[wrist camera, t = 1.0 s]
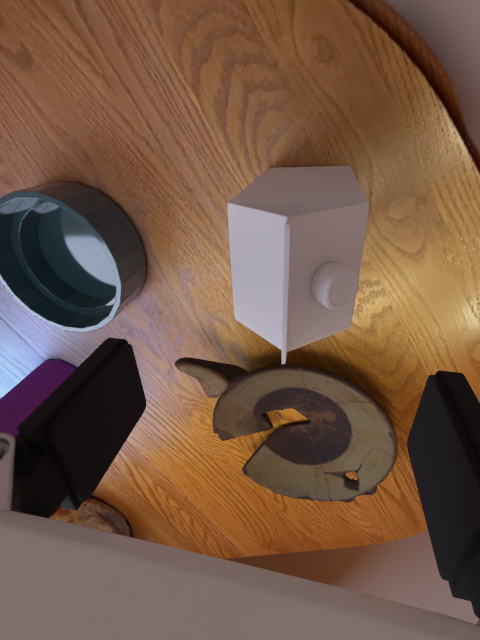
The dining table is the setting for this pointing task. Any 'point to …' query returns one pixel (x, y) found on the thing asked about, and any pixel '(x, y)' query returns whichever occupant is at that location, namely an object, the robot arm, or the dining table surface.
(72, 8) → the dining table surface
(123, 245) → the shallow pet bowl
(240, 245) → the milk carton
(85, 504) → the bread
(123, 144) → the dining table surface
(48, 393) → the mug
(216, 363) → the broken pan
